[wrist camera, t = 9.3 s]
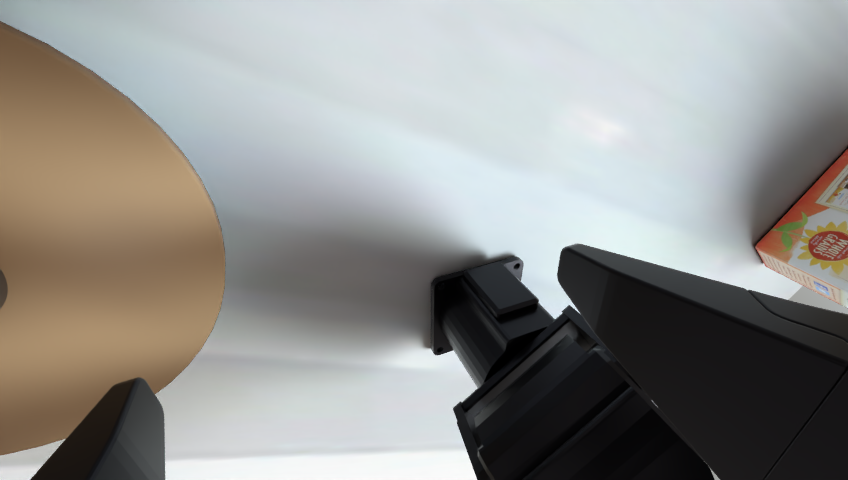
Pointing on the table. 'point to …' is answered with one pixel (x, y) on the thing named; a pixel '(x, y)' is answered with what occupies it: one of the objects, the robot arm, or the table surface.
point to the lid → (92, 245)
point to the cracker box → (814, 237)
